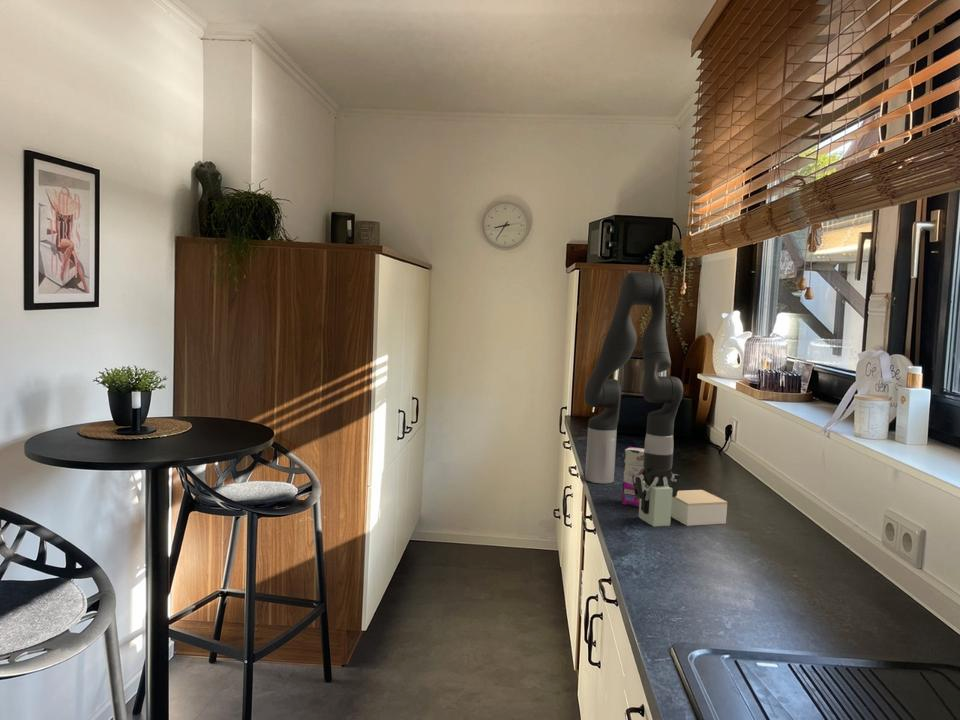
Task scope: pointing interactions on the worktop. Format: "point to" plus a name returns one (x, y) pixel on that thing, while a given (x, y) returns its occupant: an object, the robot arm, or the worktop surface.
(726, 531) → the worktop surface
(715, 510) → the podium
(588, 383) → the robot arm
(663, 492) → the sage carton
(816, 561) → the worktop surface
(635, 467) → the candy bar box
